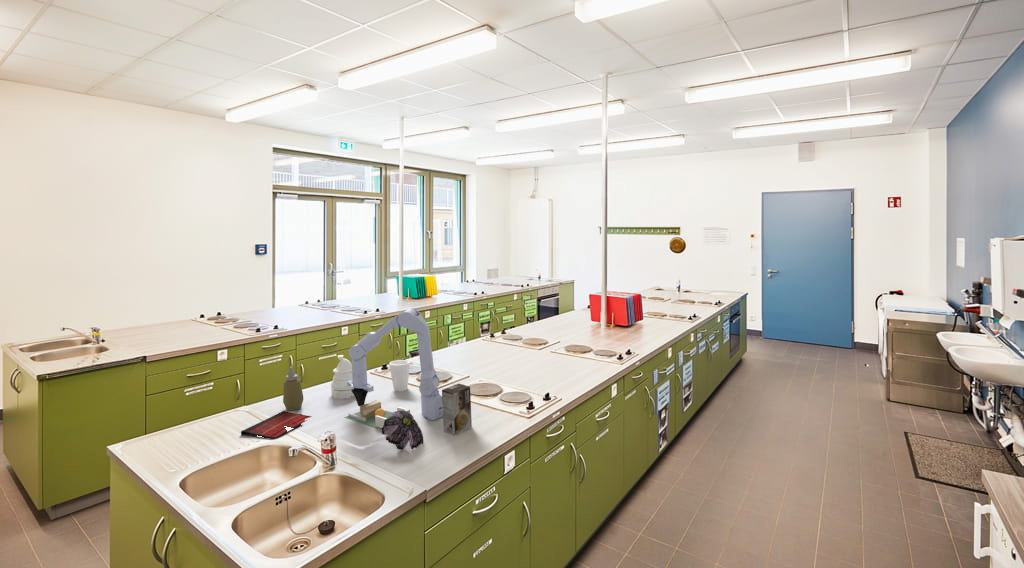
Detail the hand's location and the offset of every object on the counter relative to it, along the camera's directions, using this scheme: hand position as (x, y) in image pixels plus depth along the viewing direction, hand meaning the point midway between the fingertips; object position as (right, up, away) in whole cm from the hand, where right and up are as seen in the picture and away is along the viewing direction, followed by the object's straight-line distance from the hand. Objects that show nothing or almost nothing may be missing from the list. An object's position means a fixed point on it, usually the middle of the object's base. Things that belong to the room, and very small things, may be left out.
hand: (361, 405), depth 195 cm
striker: (+5, -3, -3) cm, 7 cm away
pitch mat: (+9, -4, -6) cm, 11 cm away
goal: (+16, -5, -11) cm, 20 cm away
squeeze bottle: (-32, -4, +10) cm, 34 cm away
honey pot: (-16, -2, +27) cm, 32 cm away
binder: (-29, -6, -10) cm, 31 cm away
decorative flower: (+24, -7, -27) cm, 37 cm away
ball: (+9, -2, -7) cm, 12 cm away
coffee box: (+41, -5, -17) cm, 45 cm away
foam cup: (+9, -1, +32) cm, 33 cm away
